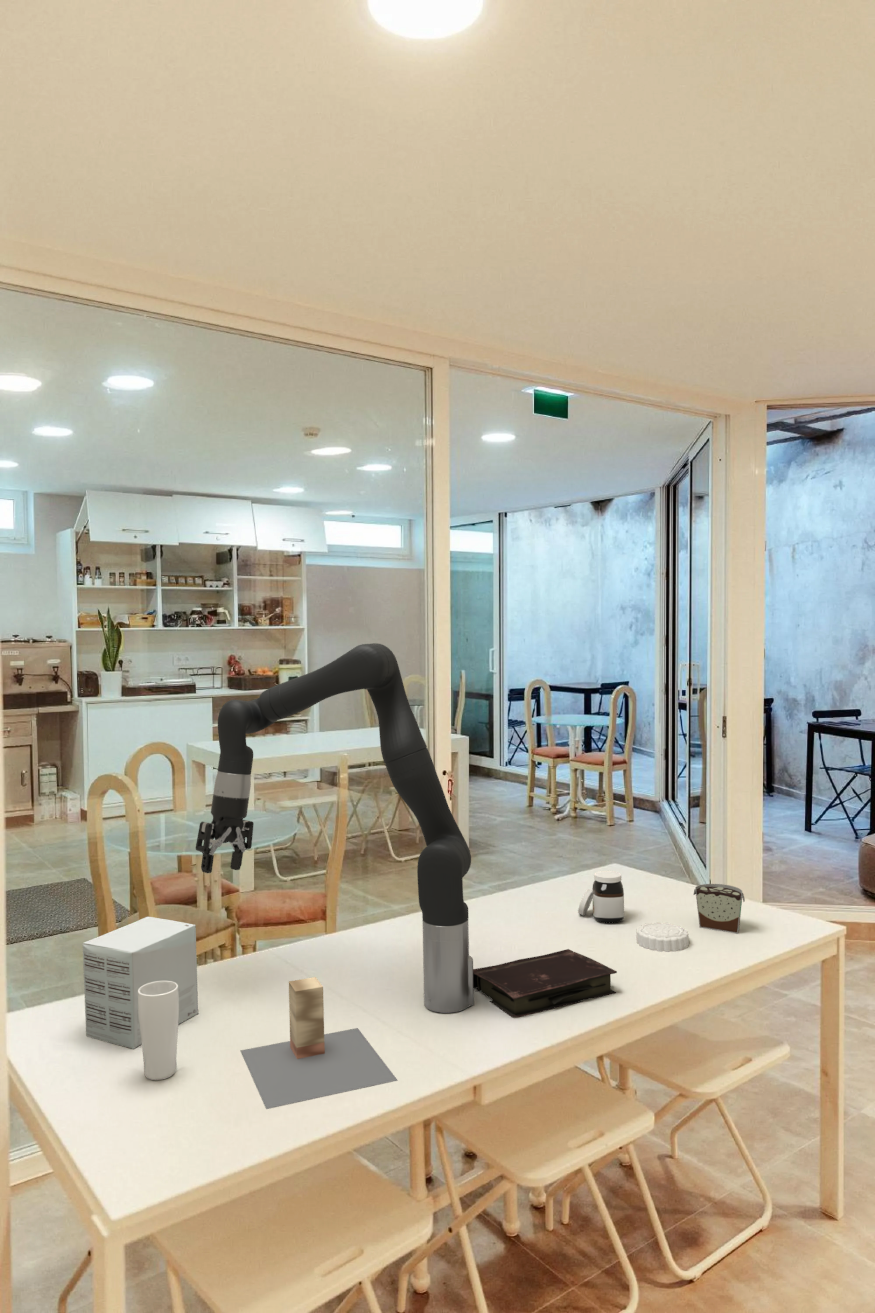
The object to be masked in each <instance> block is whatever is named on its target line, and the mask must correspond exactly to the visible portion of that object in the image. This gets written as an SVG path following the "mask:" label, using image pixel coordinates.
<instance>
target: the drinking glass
mask: <svg viewBox="0 0 875 1313" xmlns="http://www.w3.org/2000/svg"><path fill="white" fill-rule="evenodd" d="M138 1018H139V1027H140V1035H141V1043H142V1044H141V1049H142V1050H141V1051H142V1059H143V1074H144V1076H145V1078H146V1079H148V1080H151V1081H161V1080H165V1079H168V1078H170V1077H171V1076H173V1075H174V1074H175V1073H176V1071H177V1069H178V1068H177V1067H178V1065H177V1054H178V1036H179V1035H178V1033H179V1024H178V1021H179V992H178V985H177V984H176V983H175V982H172V981H155V982H151V983H148V984H145V985H143V986H141V987H140V988H139V989H138Z"/></svg>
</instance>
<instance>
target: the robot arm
mask: <svg viewBox="0 0 875 1313" xmlns="http://www.w3.org/2000/svg"><path fill="white" fill-rule="evenodd" d="M359 690H367V692H368V694H369V696H370V699H371V702H372V704H373V707H374V708H375V711H376V716H377V721H378V728H379V729H378V730H379V743H380V751H381V757H382V760H383V763H384V765H385V768H386V771H387V773H388V774H387V775H388V776H389V778H390V781H391V784H392V785H393V787H394V789H395V790H396V792H397V794H398V795H399V796H400V798H401V800H402V801H403V802H404V803H405V804H406V806H407V807H408V808H409V810H411V812H412V813H413V815H414V816H415V818H416V819H417V822H418V825H419V827H420V829H421V832H422V835H423V839H424V841H425V845H426V847H425V848H423V849H422V850H421V852H420V854H419V857H418V860H417V865H416V866H417V867H416V869H417V870H416V871H417V892H418V895H417V896H418V904H419V908H420V911H421V915H422V916H421V918H422V919H421V920H422V921H421V922H422V956H423V958H422V959H423V960H422V963H423V967H422V968H423V972H422V973H423V1004H424V1005H423V1006H424V1007H425V1008H426V1009H427V1010H430V1011H431V1012H435V1013H442V1014H443V1013H444V1014H446V1013H447V1014H448V1013H449V1014H450V1013H457V1012H461V1011H464V1010H466V1009H467V1008H469V1007H471V1006H474V1005H475V1001H474V1000H475V996H474V990H475V988H474V985H473V969H474V959H473V957H472V956H471V955H470V941H469V940H470V938H469V937H470V936H469V935H470V933H469V906H468V904H467V903H466V902H465V901H464V887H463V886H464V885H463V882H464V881H463V878H464V877H465V876H466V875H467V874H468V871H469V870H470V868H471V864H472V855H471V850H470V848H469V846H468V843H467V841H466V839H465V836H464V835H463V833H462V832H461V829H460V827H459V826H458V823H457V822H456V819H455V817H454V815H453V812H451V809H450V807H449V804H448V801H447V799H446V794H445V792H444V790H443V787H442V784H441V781H440V779H439V776H438V773H437V770H436V768H435V764H434V762H433V759H432V757H431V753H430V750H429V749H428V746H427V744H426V742H425V739H424V737H423V735H422V732H421V729H420V726H419V725H418V724H419V723H418V722H417V719H416V717H415V714H414V712H413V710H412V708H411V705H410V703H409V700H408V696H407V692H406V690H405V686H404V682H403V679H402V675H401V671H400V667H399V664H398V661H397V657H396V655H395V654H394V652H393V651H392V650H391V649H390V647H388V646H386V645H384V644H382V643H377V642H375V643H361V644H358V645H356V646H355V647H353V648H351V649H350V650H349V651H347V652H346V653H343V654H342V655H341V656H339V657H337V658H336V659H334V660H332V661H331V662H329V663H328V664H325V665H324V666H322V667H319V668H317V669H316V670H314V671H311V672H308V673H306V674H302V675H301V676H297V677H295V678H291V679H289V680H287V681H284V682H282V683H278V684H277V685H274V686H271V687H269V688H267V689H265V690H264V691H262V692H261V693H260V695H259V697H258V698H255V699H252V700H242V699H230V700H228V701H226V702H225V703H224V704H223V705H222V707H221V708H220V711H219V713H218V717H217V733H218V743H219V744H218V745H219V749H220V750H219V751H220V752H219V760H218V764H217V765H218V766H217V771H216V772H217V773H216V776H215V780H214V786H213V787H214V788H213V792H212V801H211V802H212V803H211V810H210V814H211V815H212V821H211V822H206V821H201V822H200V823H199V827H198V833H197V838H196V844H195V851H198V852H200V853H202V856H201V857H202V858H201V864H200V865H201V866H200V868H201V872H202V873H206V874H211V873H212V871H213V864H214V858H215V857H214V856H215V855H214V854H215V853H216V850H217V849H218V848H219V847H221V846H222V845H223V844H226V843H229V844H231V847H232V849H233V850H232V852H231V859H230V860H231V862H230V866H229V867H230V869H231V870H235V871H239V870H241V866H242V865H243V856H244V853H245V851H247V850H250V849H251V848H252V845H253V844H252V843H253V835H254V834H253V833H254V822H253V821H251V820H246V819H245V818H247V815H248V809H249V801H250V794H251V787H252V786H251V785H252V780H251V779H252V771H253V762H254V750H253V749H252V748H251V747H250V746H248V744H247V735H251V734H254V733H259V732H260V731H263V730H264V729H266V728H268V727H270V726H271V725H272V724H273V725H274V723H276V722H277V721H281V720H283V719H286V718H289V717H291V716H293V715H296V714H299V713H300V712H303V711H305V710H307V709H309V708H312V706H313V707H314V706H315V705H317V704H318V703H320V702H322V701H324V700H326V699H328V698H330V697H333V696H337V695H340V694H344V693H349V692H354V691H359Z"/></svg>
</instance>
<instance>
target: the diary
mask: <svg viewBox="0 0 875 1313" xmlns="http://www.w3.org/2000/svg"><path fill="white" fill-rule="evenodd" d="M617 973H618V971H617V970H615V969H612V968H611V967H608V965H607V966H606V965H605V964H603V963H601V962H599V961H597V960H595V959H593V958H591V957H588V956H586V955H584V954H580V953H578V952H576V951H573V950H571V949H569V948H567V949H562V950H559V951H555V952H551V953H547V954H544V955H543V954H541V955H538V956H531V957H526V958H520V959H516V960H512V961H509V962H504V963H501V964H496V965H492V966H491V965H490V966H484V967H479V968H478V967H477V968H473V985H474V989H477V990H475V992H477V991H478V992H480V991H481V994H483V995H484V996H486V997H488V998H489V999H490V1000H488V1001H489V1003H491V1004H492V1005H494V1006H495V1007H496V1008H498V1009H499V1010H501V1011H502V1012H503V1013H505V1014H506V1015H508V1016H510V1017H513V1018H520V1017H521V1018H522V1017H526V1016H529V1015H534V1014H538V1013H542V1012H545V1011H551V1010H554V1009H558V1008H562V1007H565V1006H571V1005H575V1004H578V1003H584V1001H586V1000H592V999H597V998H602V997H606V996H607V997H608V996H612V995H615V994H618V992H617V991H615V990H613V989H612V984H611V983H612V982H611V975H614V974H617Z"/></svg>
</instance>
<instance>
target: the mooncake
mask: <svg viewBox="0 0 875 1313" xmlns="http://www.w3.org/2000/svg"><path fill="white" fill-rule="evenodd" d="M635 932H636V935H635V936H636V939H635V940H636V944H637V945H639V947H642V948H643V949H646V950H650V951H652V952H653V951H654V952H655V951H656V952H659V953H660V952H661V953H662V952H665V953H669V952H678V951H682V950H684V949H687V948H688V946H689V931H688V930H687V929H685V928H684V927H681V925H676V924H672V923H669V922H653V923H652V922H651V923H644V924H643V925H639V926H638V927H637V928H636V931H635Z"/></svg>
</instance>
